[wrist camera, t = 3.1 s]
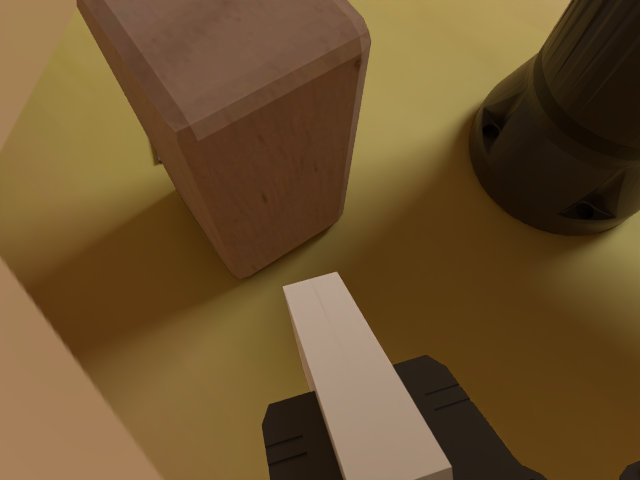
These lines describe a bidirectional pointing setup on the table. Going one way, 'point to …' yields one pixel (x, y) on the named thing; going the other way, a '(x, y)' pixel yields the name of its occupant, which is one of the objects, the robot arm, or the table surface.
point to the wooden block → (244, 110)
